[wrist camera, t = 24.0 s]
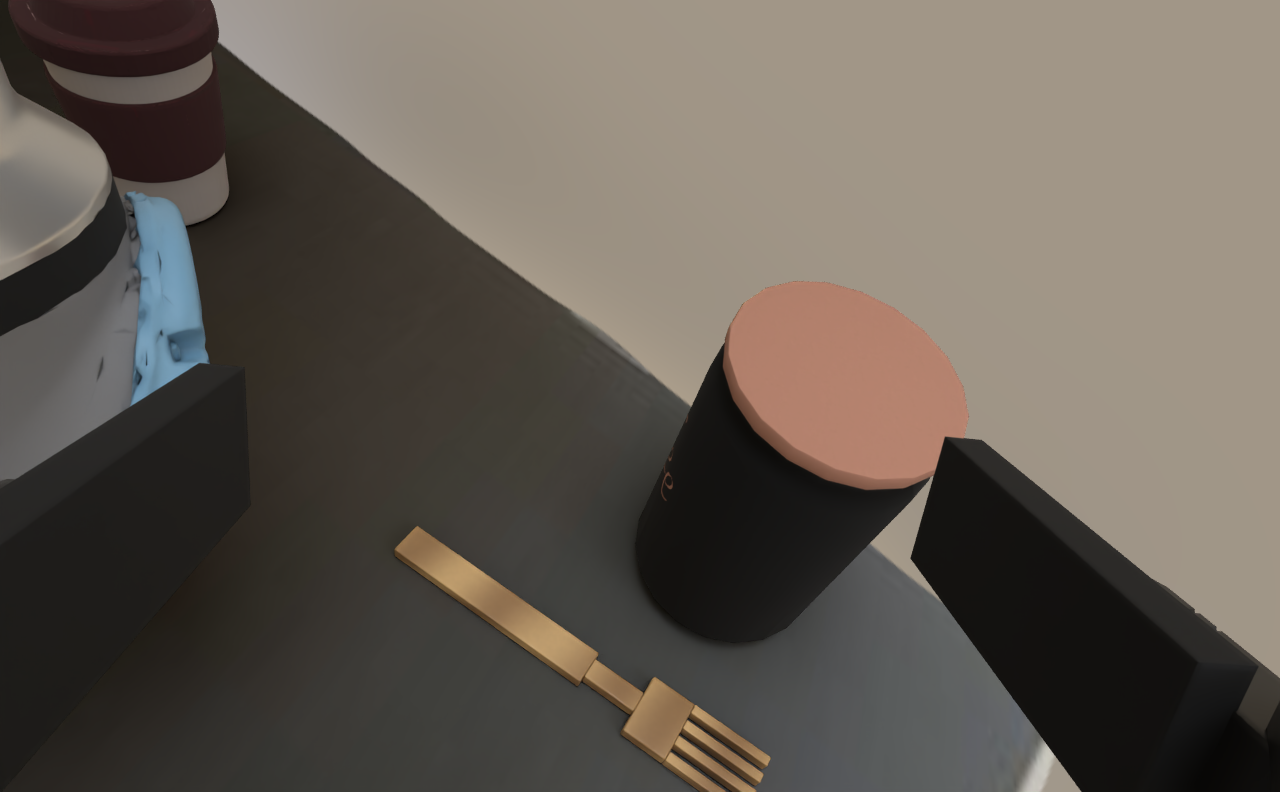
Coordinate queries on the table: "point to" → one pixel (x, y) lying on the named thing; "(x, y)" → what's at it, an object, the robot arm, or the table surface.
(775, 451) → the coffee jar
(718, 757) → the tan flat long part
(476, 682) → the table surface
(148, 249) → the robot arm
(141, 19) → the coffee cup
